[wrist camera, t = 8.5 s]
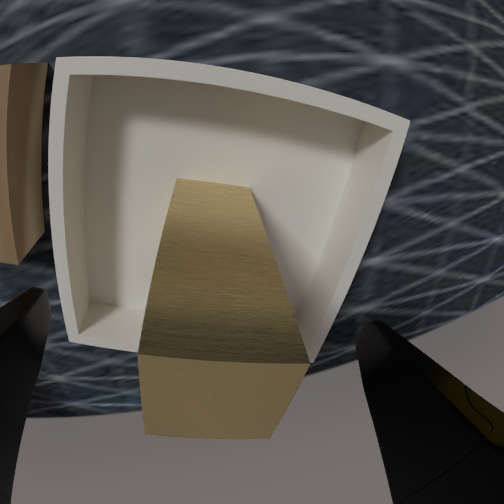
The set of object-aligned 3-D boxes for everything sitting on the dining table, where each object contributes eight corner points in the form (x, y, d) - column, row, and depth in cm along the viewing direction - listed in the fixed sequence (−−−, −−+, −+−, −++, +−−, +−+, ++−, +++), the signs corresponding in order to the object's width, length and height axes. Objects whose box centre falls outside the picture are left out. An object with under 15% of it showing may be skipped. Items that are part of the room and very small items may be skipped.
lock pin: (169, 242, 14) (145, 434, 6) (176, 177, 13) (138, 353, 5) (236, 250, 15) (270, 438, 7) (249, 187, 13) (310, 363, 6)
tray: (84, 302, 16) (69, 341, 13) (87, 59, 10) (56, 57, 7) (299, 323, 18) (313, 362, 16) (373, 109, 12) (410, 120, 10)
